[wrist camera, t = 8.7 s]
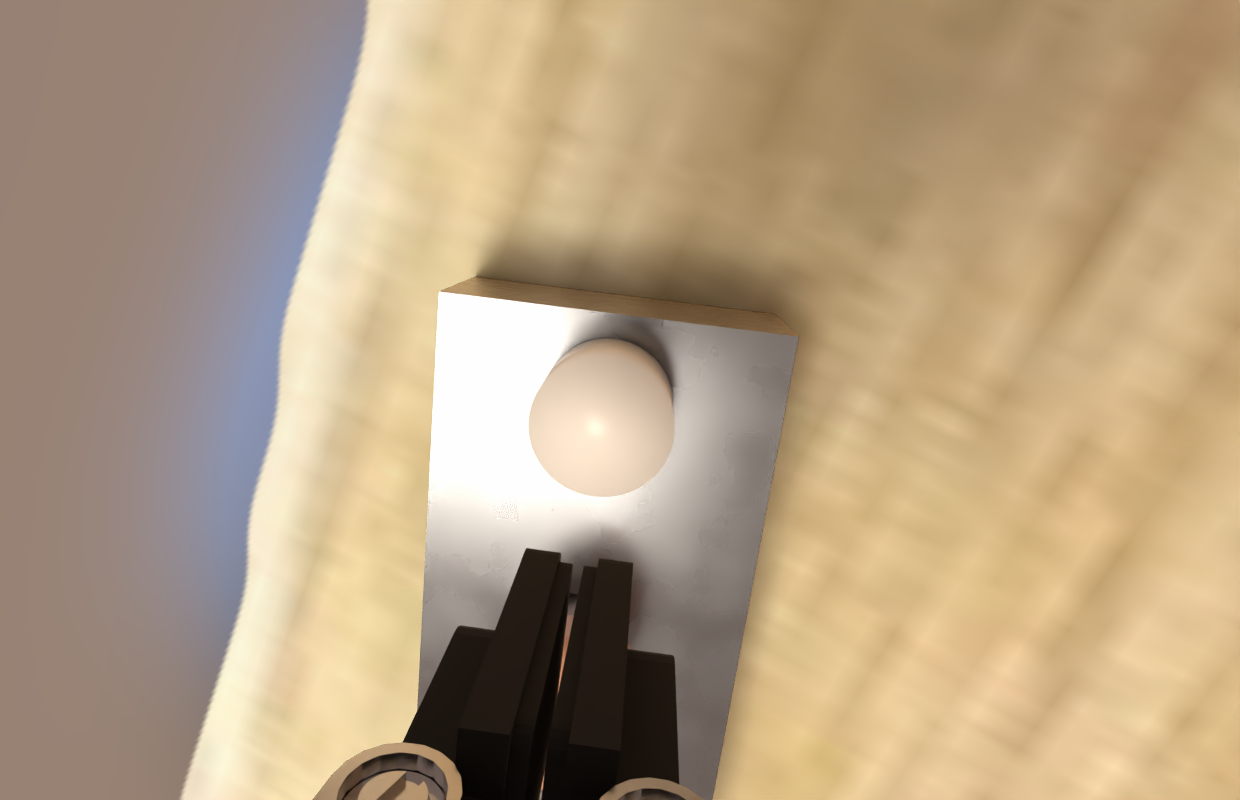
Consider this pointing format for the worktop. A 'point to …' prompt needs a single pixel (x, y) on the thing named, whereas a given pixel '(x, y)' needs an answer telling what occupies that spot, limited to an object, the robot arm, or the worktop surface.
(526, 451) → the knob panel
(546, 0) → the worktop surface
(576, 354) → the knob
